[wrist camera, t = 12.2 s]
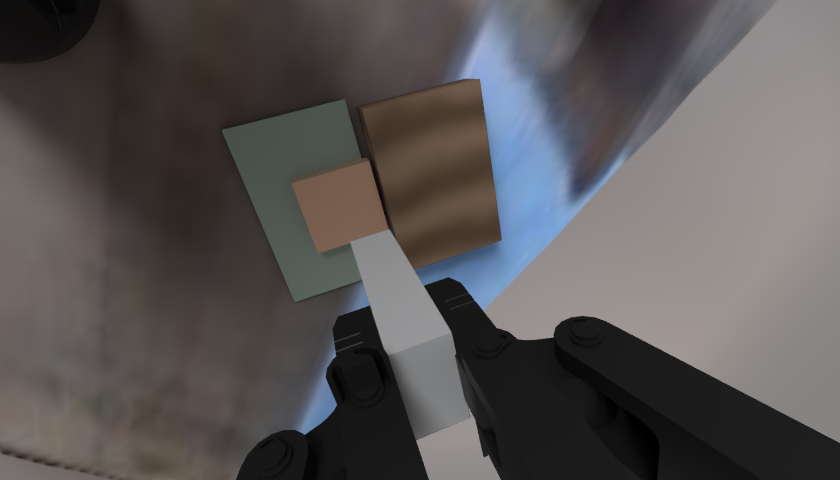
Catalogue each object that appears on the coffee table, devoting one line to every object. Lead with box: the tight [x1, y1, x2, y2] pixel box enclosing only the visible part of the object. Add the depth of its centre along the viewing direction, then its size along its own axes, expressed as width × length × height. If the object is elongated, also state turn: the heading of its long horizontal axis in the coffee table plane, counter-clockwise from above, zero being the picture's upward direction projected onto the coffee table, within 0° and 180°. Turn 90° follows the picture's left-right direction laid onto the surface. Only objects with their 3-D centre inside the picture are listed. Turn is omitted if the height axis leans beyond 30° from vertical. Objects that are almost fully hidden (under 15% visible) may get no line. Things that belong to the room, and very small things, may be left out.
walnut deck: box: [357, 79, 502, 269], centre depth 43 cm, size 18×12×4 cm, turn 13°
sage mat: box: [222, 99, 362, 302], centre depth 43 cm, size 20×12×1 cm, turn 13°
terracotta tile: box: [291, 157, 389, 253], centre depth 42 cm, size 8×8×2 cm
